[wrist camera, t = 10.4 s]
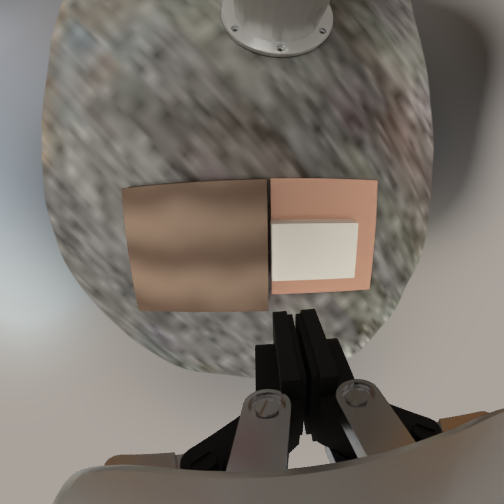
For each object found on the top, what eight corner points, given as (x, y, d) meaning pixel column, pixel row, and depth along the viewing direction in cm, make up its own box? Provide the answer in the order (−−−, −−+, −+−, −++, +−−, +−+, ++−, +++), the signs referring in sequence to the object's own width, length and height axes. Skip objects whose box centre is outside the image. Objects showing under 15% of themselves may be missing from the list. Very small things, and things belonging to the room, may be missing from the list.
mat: (270, 178, 30) (270, 178, 29) (376, 180, 29) (377, 180, 29) (271, 292, 33) (271, 294, 33) (368, 287, 33) (369, 289, 33)
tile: (270, 219, 30) (271, 224, 28) (351, 218, 30) (358, 223, 28) (270, 272, 32) (271, 281, 30) (347, 270, 32) (354, 277, 30)
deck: (130, 186, 30) (121, 188, 27) (265, 178, 30) (266, 179, 27) (145, 301, 34) (138, 310, 31) (267, 300, 34) (268, 310, 31)
